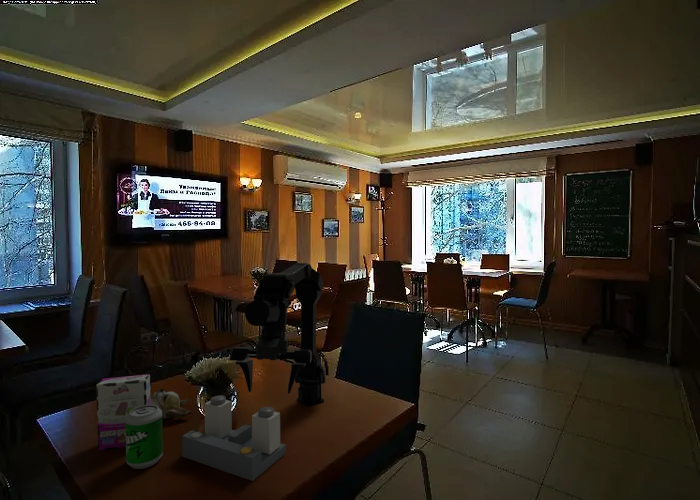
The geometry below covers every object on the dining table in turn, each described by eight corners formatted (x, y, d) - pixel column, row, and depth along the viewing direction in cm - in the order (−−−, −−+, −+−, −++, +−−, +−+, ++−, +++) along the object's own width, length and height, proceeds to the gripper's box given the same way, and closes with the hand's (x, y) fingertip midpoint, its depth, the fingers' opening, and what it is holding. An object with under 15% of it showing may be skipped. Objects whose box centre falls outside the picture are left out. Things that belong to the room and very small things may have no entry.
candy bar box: (152, 435, 103) (151, 373, 102) (147, 445, 98) (146, 380, 97) (103, 441, 100) (102, 377, 99) (97, 451, 95) (95, 384, 94)
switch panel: (219, 433, 104) (219, 413, 103) (285, 453, 94) (285, 431, 94) (182, 456, 93) (182, 434, 93) (252, 481, 84) (252, 456, 83)
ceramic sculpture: (135, 385, 114) (190, 379, 121) (133, 414, 114) (189, 407, 121) (133, 399, 105) (194, 392, 111) (132, 431, 105) (192, 423, 112)
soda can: (154, 449, 96) (153, 400, 96) (168, 460, 91) (168, 409, 91) (120, 462, 90) (119, 411, 90) (134, 475, 86) (133, 421, 85)
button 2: (263, 441, 95) (263, 404, 95) (280, 446, 93) (279, 408, 93) (252, 449, 92) (251, 411, 91) (269, 454, 90) (269, 415, 89)
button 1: (217, 428, 102) (216, 393, 102) (231, 432, 100) (231, 397, 99) (205, 435, 98) (204, 399, 98) (220, 439, 96) (219, 403, 96)
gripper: (226, 324, 87) (219, 398, 85) (310, 328, 88) (305, 401, 85) (239, 323, 98) (233, 388, 96) (313, 326, 99) (310, 391, 96)
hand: (269, 392), depth 93 cm, fingers open, 9 cm apart
